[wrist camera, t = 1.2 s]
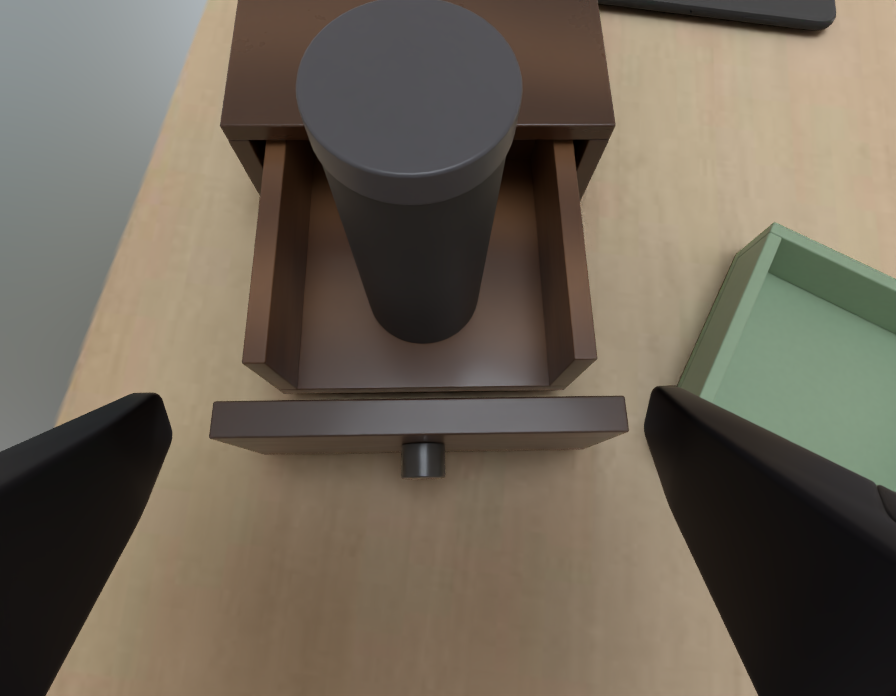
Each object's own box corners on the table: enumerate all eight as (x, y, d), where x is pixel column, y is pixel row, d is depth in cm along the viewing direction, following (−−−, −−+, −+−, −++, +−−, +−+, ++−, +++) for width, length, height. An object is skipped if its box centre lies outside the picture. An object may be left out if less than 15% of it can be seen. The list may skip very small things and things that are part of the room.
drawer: (586, 478, 21) (634, 470, 16) (261, 484, 20) (203, 478, 15) (555, 160, 25) (584, 74, 20) (290, 160, 25) (253, 74, 20)
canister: (468, 357, 21) (501, 196, 10) (353, 333, 21) (264, 151, 10) (489, 253, 23) (539, 15, 12) (382, 231, 23) (330, -22, 12)
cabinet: (568, 226, 25) (616, 125, 19) (278, 228, 25) (218, 125, 18) (545, -3, 30) (576, -151, 23) (300, -4, 30) (259, -155, 23)
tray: (898, 588, 21) (973, 601, 18) (648, 449, 22) (679, 441, 19) (959, 361, 24) (1032, 342, 21) (736, 253, 25) (774, 221, 22)
